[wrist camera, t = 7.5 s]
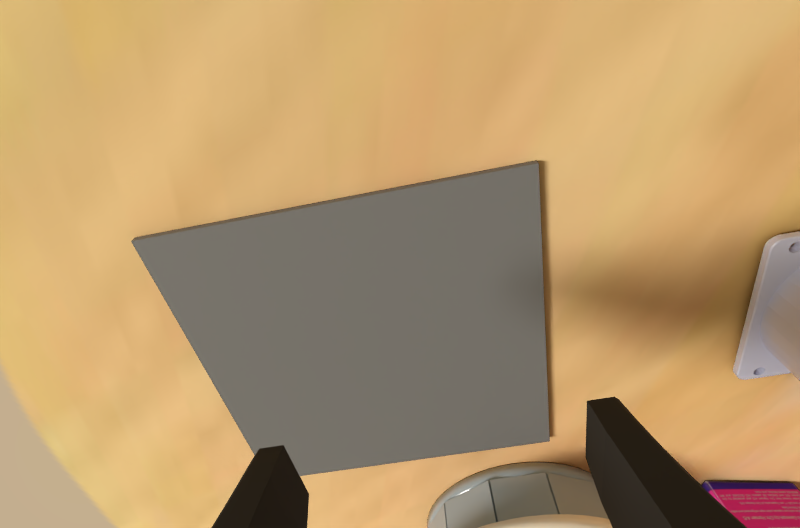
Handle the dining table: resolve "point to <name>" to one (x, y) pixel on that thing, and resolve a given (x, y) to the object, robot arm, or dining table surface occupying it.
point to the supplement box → (759, 502)
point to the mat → (372, 319)
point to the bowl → (516, 495)
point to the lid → (553, 522)
